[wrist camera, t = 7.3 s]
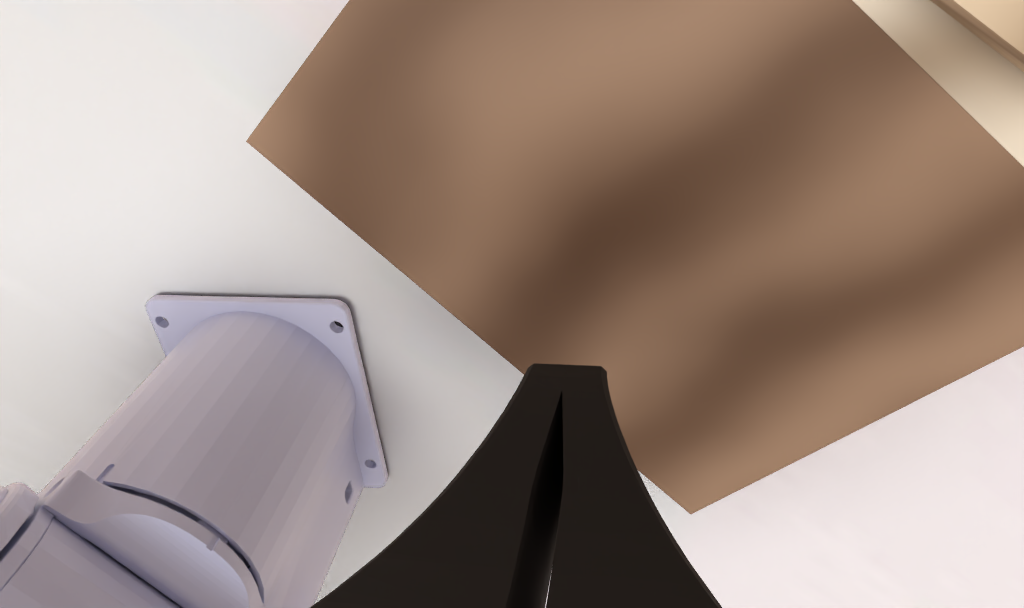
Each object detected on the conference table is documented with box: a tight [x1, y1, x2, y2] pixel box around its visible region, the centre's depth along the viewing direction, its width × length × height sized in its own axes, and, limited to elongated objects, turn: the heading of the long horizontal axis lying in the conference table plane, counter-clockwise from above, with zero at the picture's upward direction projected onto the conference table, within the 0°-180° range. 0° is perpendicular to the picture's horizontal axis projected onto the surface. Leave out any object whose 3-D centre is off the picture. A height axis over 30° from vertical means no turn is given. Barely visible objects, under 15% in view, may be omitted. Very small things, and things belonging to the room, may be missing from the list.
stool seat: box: [246, 0, 1024, 514], centre depth 18 cm, size 20×20×2 cm
